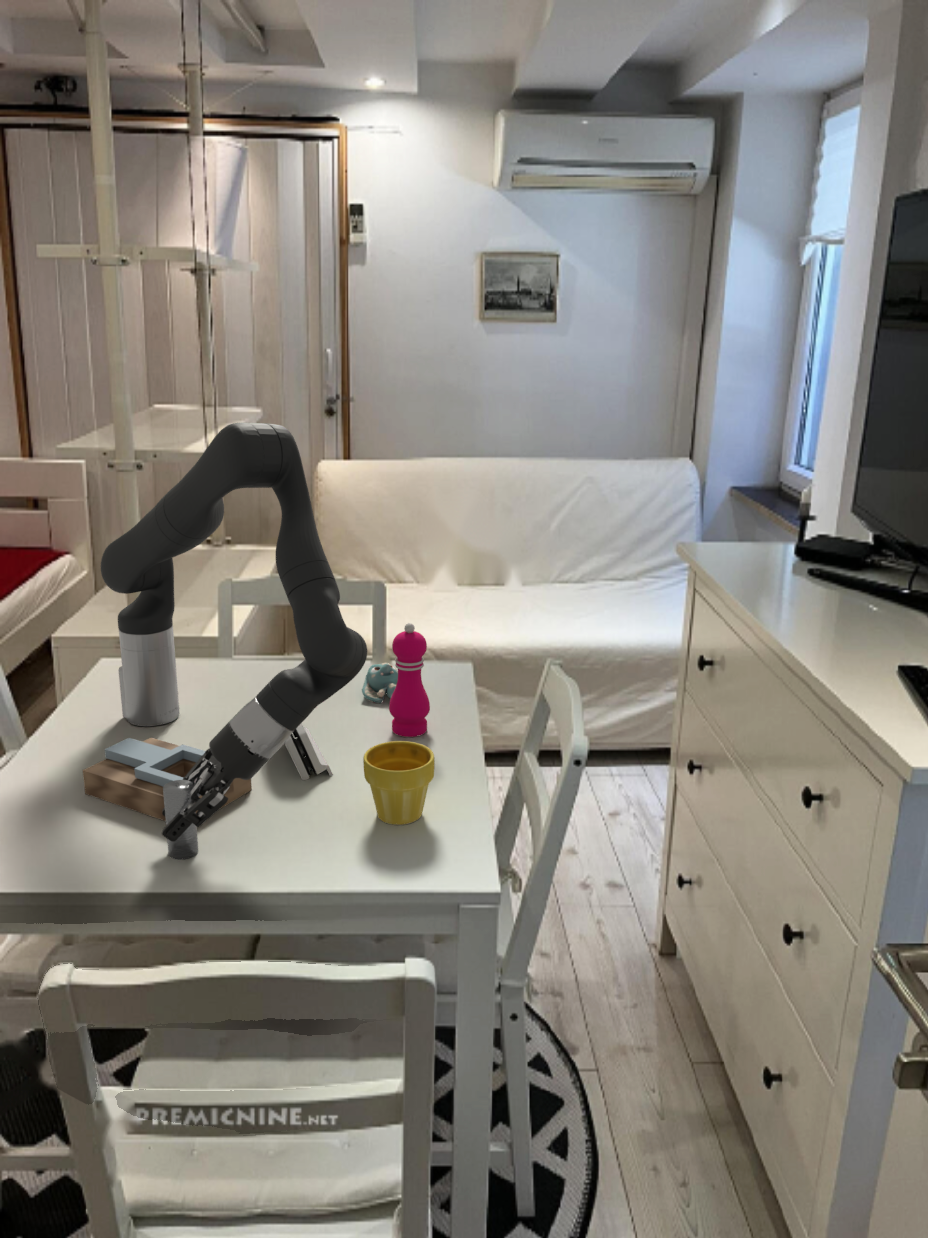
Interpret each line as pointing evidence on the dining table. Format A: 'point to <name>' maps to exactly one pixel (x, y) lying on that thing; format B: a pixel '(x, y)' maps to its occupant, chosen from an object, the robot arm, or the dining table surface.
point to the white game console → (306, 753)
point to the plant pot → (399, 779)
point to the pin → (173, 804)
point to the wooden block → (143, 784)
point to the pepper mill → (409, 685)
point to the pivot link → (151, 759)
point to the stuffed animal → (380, 682)
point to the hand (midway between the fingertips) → (167, 826)
